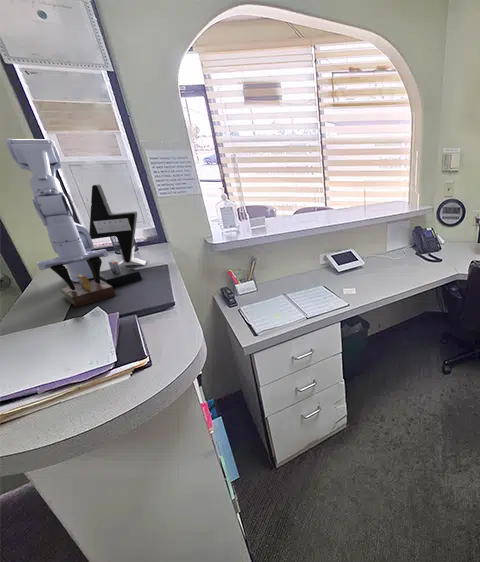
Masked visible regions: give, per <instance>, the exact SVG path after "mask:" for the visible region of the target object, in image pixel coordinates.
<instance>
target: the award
mask: <svg viewBox="0 0 480 562" xmlns="http://www.w3.org/2000/svg"><path fill="white" fill-rule="evenodd" d="M90 196H91V197H90V199H91V200H90V204H91V205H90V215H89V231H88V232H89V234H90V237H91V240H97V239H103V238H111V237H116V239H117V241H118V244H119V248H120V249H119V253H120V255H121V256H120V257H121V259H122V260H120V261H119V262H117V263H118V265H119V267H122V266H127V265H135V266H145V265H146V263H147V261H146V260H144V259H141V258H136V257H135V249H136V245H135V238H136V236H135V235H136V228H137V221H138V212H137V211H128V212H127V211H126V212H118V213H113V212H112V211H111V208H110V206H109V203H108V200H107V198H106V195H105V193H104V190H103V188H102V185H101V184H99V183H98V184H93V185H92V186H91V195H90Z"/></svg>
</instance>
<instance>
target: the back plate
mask: <svg viewBox="0 0 480 562" xmlns="http://www.w3.org/2000/svg"><path fill="white" fill-rule="evenodd" d="M119 268H120V270H121V273H118V274H117V273H115V272H112V271H111V268H109V269H105V270H100V280H101V281H103V282H106V283H107V284H109V285H110V286H112V287H113V288H117V287H121V286H123V285H128V284H132V283H134V282H138V281H139V282H140V281H142V280H143V278H142V274H141V273H140V270H137V269H135V268H133V267H130V266H128V265H124V266H121V267H119Z"/></svg>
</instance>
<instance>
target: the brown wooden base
mask: <svg viewBox="0 0 480 562" xmlns="http://www.w3.org/2000/svg"><path fill="white" fill-rule="evenodd" d="M88 281H89V283H90V285H91V289H87V290H86V289H85V288H83V287H82V286H81V285H80V283H78V284H73V285H74V286H75V289H76V290H71V289H70V287H69V286H66V287H62V288H60V292H61V293H62V295H63V297H64V299H65V300H67V302H69V303H70V304H72V305H73V306H74V307H75V308H79V307H83V306H87V305H89V304H92V303H97V302H100V301H102V300H107V299H110V298H113V297H116V296H117V295H116V293H115V289H114V287H112V286H110V285H109V284H107V283H106V282H103V281H101V280H100V283H99V284H97V283H95V280H94V279H92V280H88Z"/></svg>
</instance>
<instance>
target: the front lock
mask: <svg viewBox="0 0 480 562" xmlns="http://www.w3.org/2000/svg"><path fill="white" fill-rule="evenodd" d="M77 277H78V280H79V284H80V285H81V286H82V287H83V288H85V289H86V290H87V289H91V285H90V283H89V281H90V280H89V279H88V278H87V277H86V276H84V275H82V274H80V275H77Z"/></svg>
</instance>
